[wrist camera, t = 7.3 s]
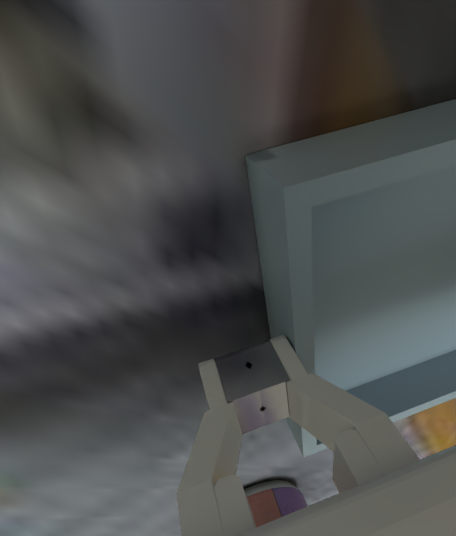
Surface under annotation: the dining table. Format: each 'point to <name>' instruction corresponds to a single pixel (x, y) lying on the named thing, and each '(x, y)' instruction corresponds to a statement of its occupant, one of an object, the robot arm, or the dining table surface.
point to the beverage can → (273, 500)
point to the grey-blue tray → (364, 257)
